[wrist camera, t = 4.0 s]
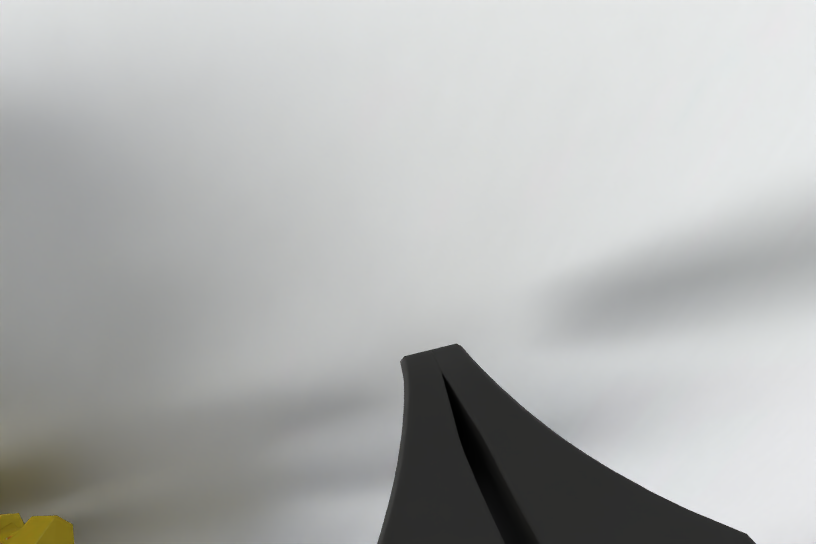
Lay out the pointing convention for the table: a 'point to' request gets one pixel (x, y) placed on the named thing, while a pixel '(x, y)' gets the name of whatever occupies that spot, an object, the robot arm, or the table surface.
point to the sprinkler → (35, 530)
